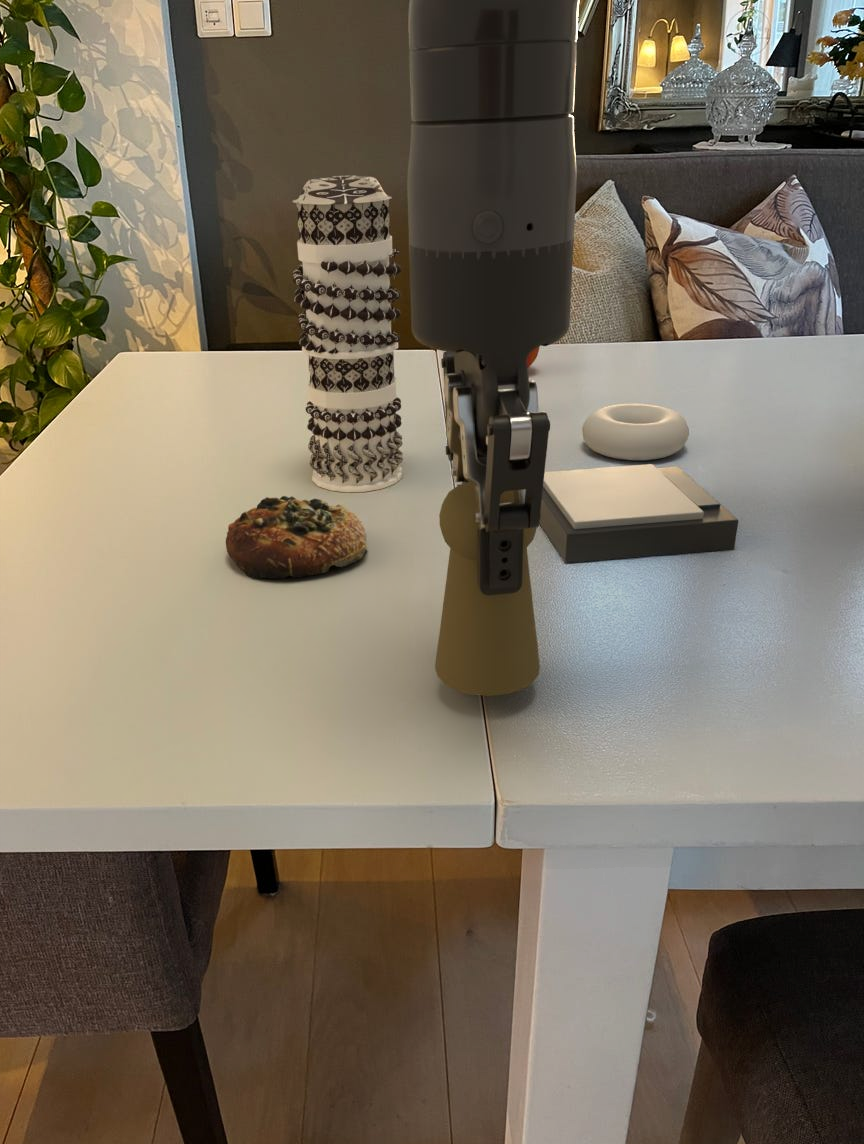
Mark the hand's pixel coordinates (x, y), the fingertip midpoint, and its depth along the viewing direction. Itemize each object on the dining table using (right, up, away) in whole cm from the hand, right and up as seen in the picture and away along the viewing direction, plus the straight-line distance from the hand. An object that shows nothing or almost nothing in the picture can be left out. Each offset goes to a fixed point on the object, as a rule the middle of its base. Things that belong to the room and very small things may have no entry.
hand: (488, 566), depth 52 cm
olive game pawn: (0, -6, +3) cm, 7 cm away
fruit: (+10, +29, +67) cm, 74 cm away
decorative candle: (-8, +11, +37) cm, 39 cm away
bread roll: (-12, +3, +22) cm, 26 cm away
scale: (+14, +5, +24) cm, 28 cm away
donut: (+18, +14, +40) cm, 47 cm away
